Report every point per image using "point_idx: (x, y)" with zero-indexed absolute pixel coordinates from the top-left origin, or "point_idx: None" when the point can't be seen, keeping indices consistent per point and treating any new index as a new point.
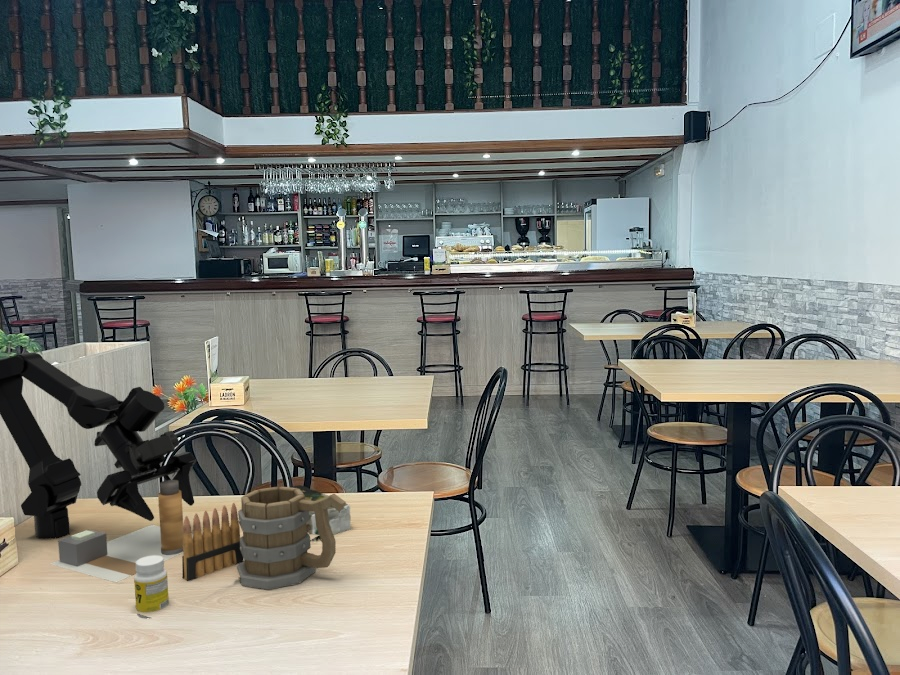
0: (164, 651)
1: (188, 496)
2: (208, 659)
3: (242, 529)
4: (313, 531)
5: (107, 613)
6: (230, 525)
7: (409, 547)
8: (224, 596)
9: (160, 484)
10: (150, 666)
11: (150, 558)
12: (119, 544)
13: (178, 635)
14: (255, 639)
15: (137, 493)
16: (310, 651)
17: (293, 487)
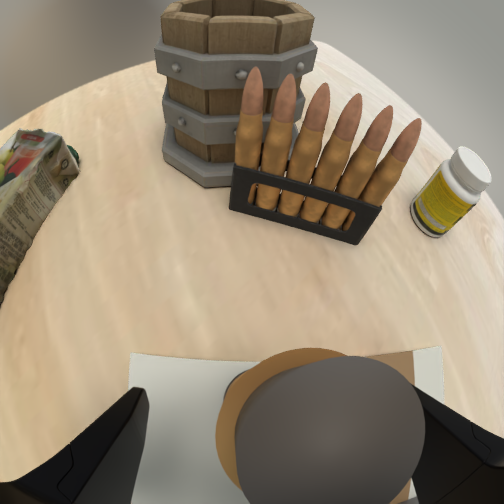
0: (439, 152)
1: (132, 422)
2: (414, 117)
3: (312, 67)
4: (73, 158)
5: (466, 275)
6: (261, 128)
7: (105, 81)
8: None
9: (419, 456)
10: (452, 150)
11: (474, 166)
12: None
13: (422, 156)
14: (371, 98)
15: (495, 458)
16: (350, 69)
17: None
